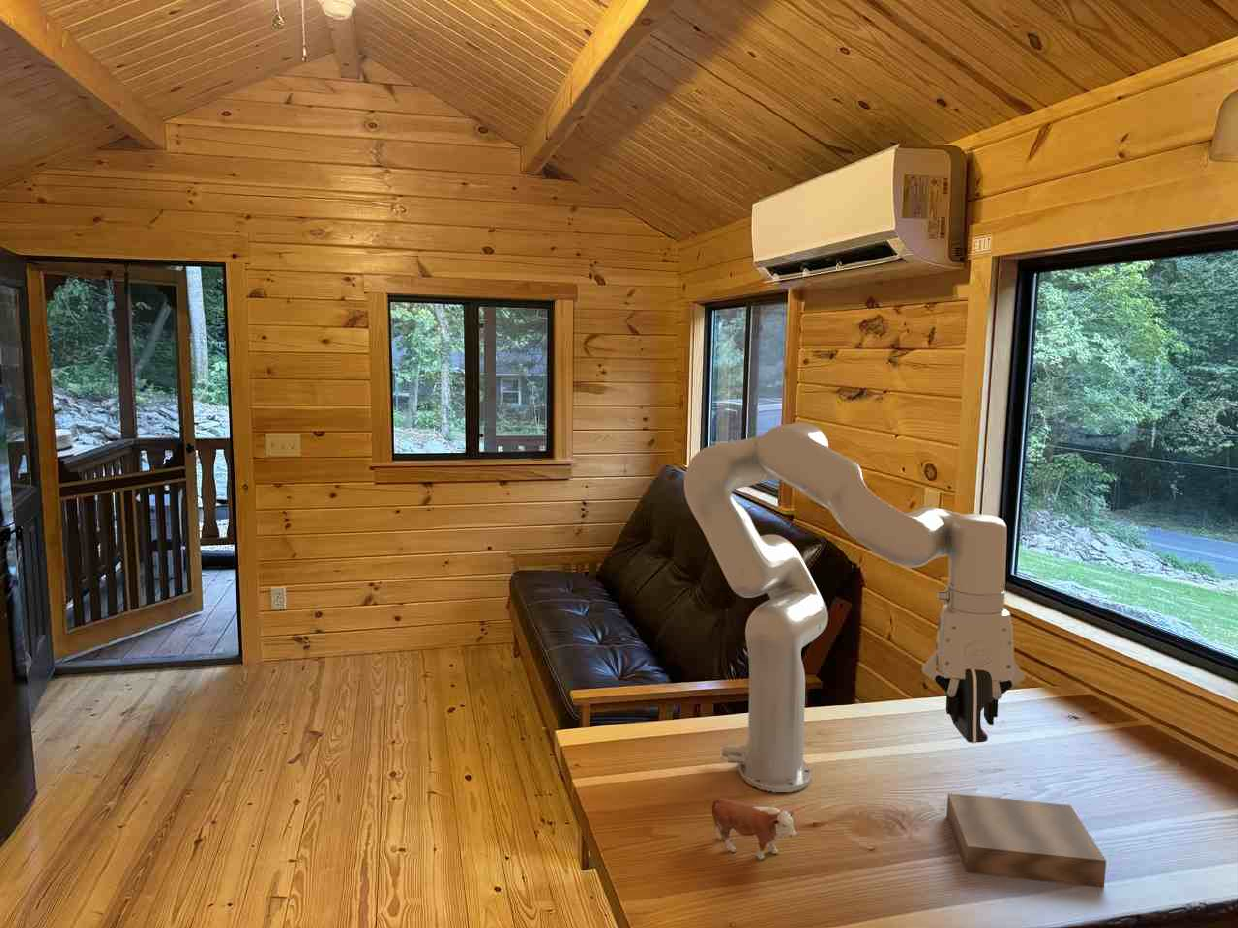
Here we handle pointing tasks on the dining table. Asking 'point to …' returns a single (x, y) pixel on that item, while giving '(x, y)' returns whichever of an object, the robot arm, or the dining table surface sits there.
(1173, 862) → the dining table surface
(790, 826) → the bull figurine
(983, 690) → the battery charger
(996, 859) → the walnut base
